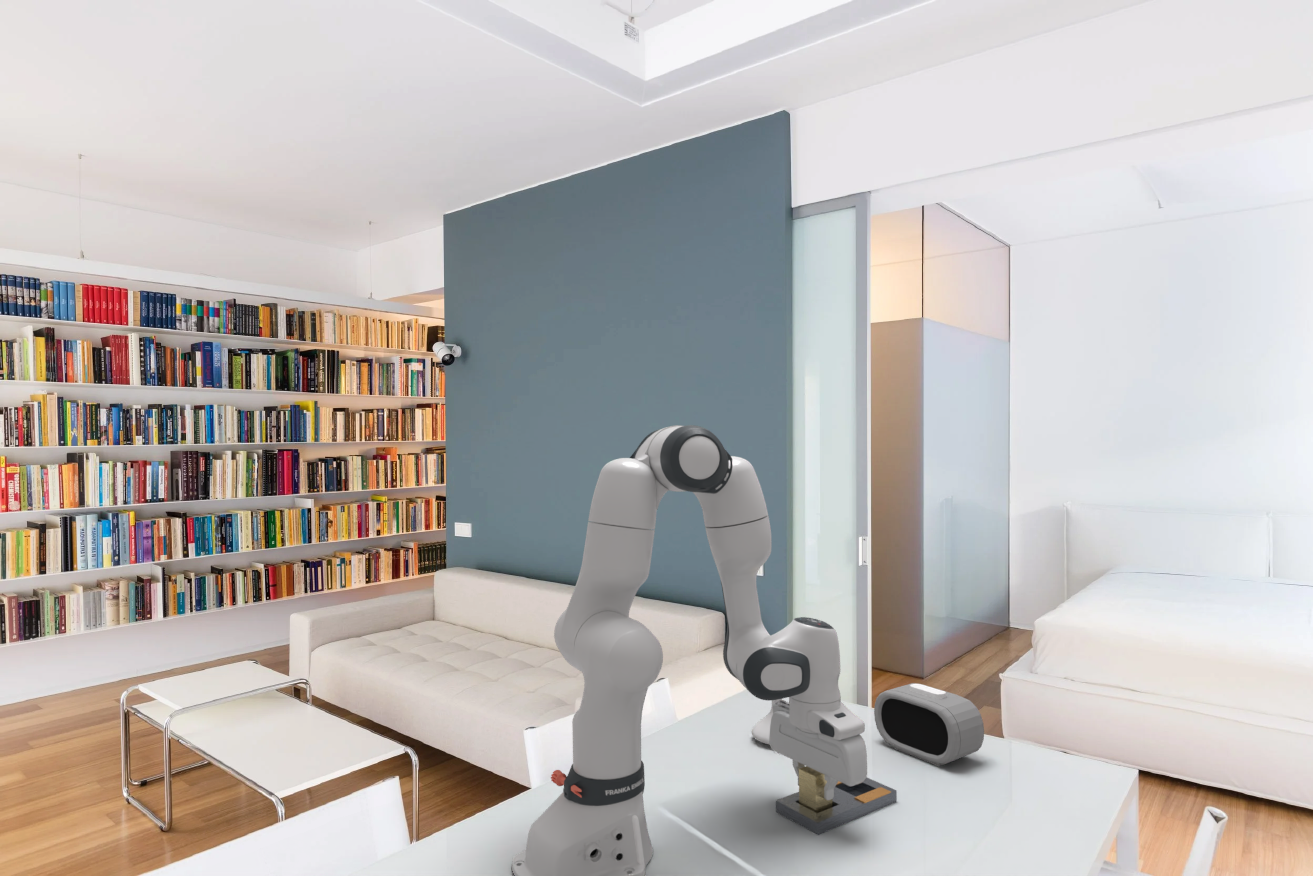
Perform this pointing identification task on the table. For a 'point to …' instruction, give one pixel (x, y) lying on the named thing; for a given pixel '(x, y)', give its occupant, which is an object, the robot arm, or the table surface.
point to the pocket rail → (838, 805)
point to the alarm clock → (929, 723)
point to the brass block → (812, 790)
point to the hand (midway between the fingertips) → (815, 792)
